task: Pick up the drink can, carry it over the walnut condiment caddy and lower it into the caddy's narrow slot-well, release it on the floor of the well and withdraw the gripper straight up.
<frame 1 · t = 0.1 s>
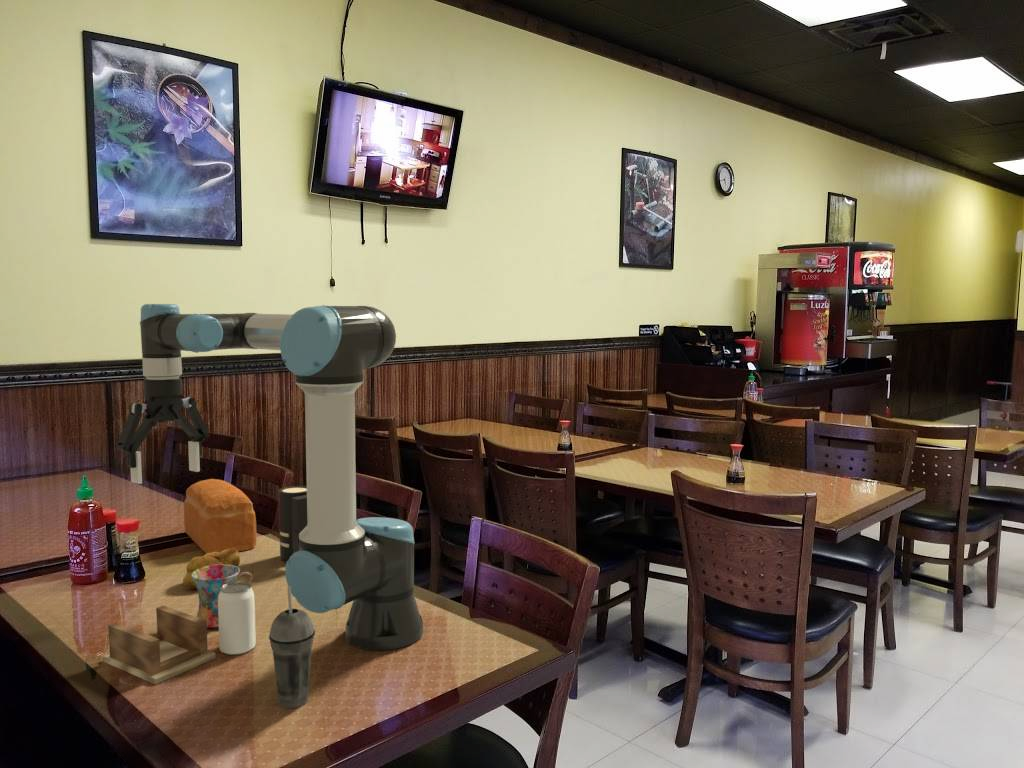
hand: (166, 476, 168), 28 cm above the table, fingers open, 13 cm apart
beverage cup: (293, 702, 130), on the table
caddy: (159, 659, 144), on the table
mug: (224, 621, 162), on the table
light fixture: (302, 561, 200), on the table
can: (237, 649, 149), on the table
ginger root: (208, 583, 183), on the table
bread: (219, 541, 215), on the table
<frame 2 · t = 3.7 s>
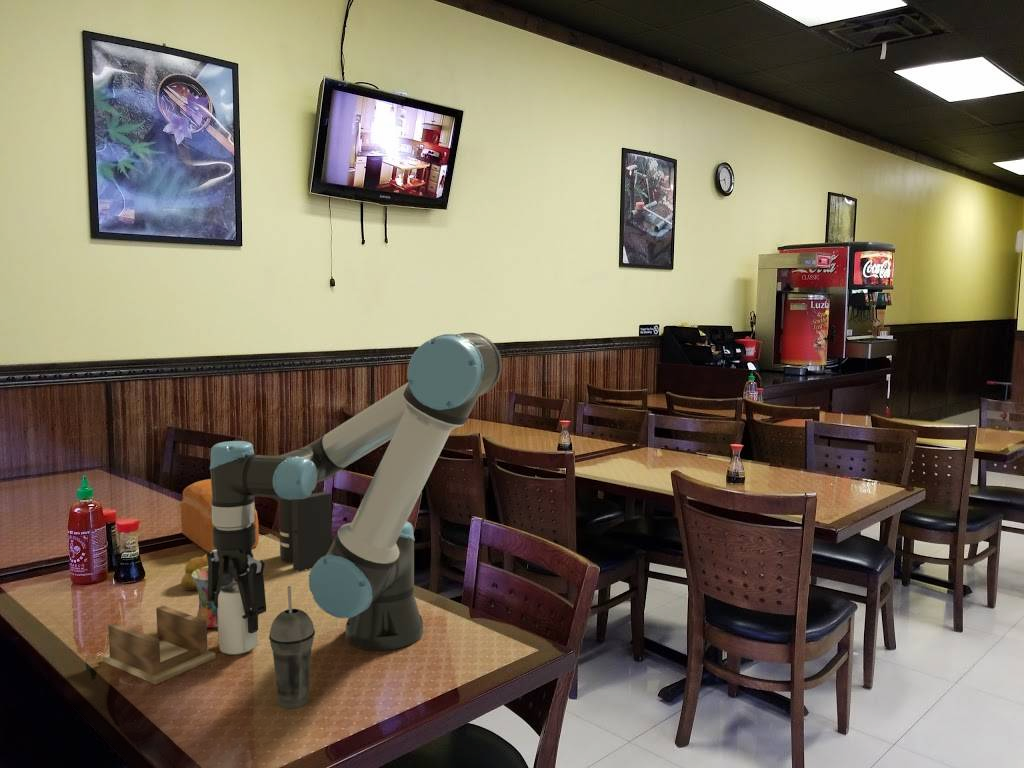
hand: (237, 643, 149), 1 cm above the table, fingers closed on can, 6 cm apart
can: (237, 649, 149), on the table, touching gripper
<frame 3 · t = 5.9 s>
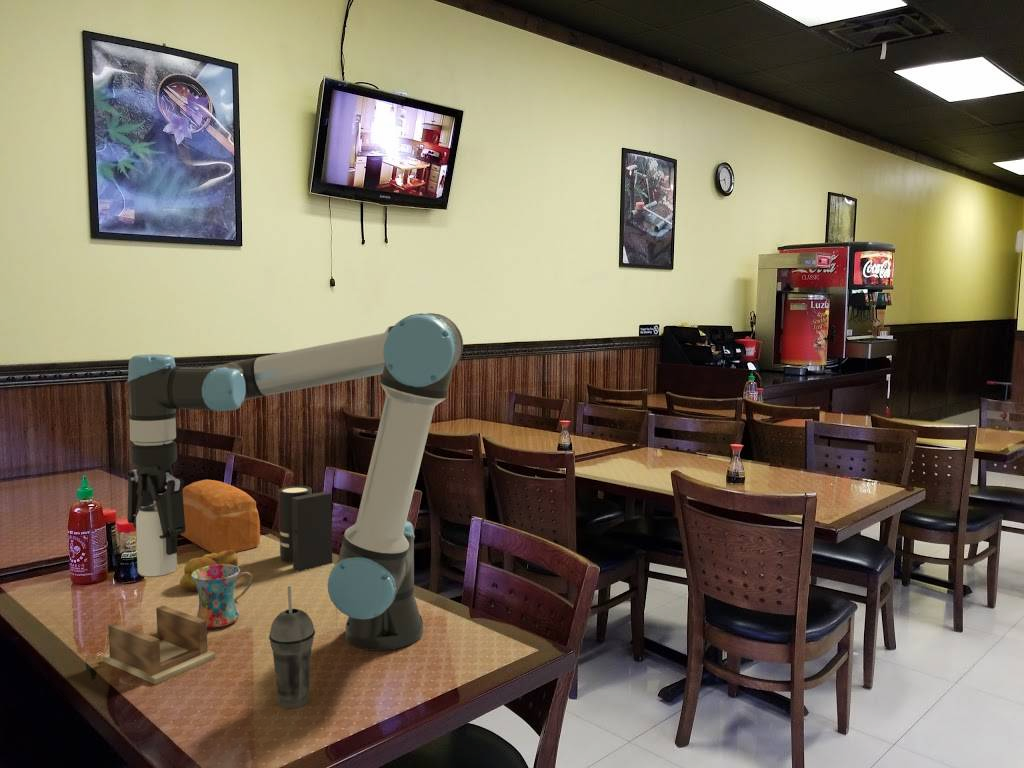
hand: (157, 566, 143), 17 cm above the table, fingers closed on can, 6 cm apart
can: (157, 572, 143), point 16 cm above the table, touching gripper
when the fingers open (4 cm above the table, at t = 8.4 s): can drops 2 cm, resting on caddy.
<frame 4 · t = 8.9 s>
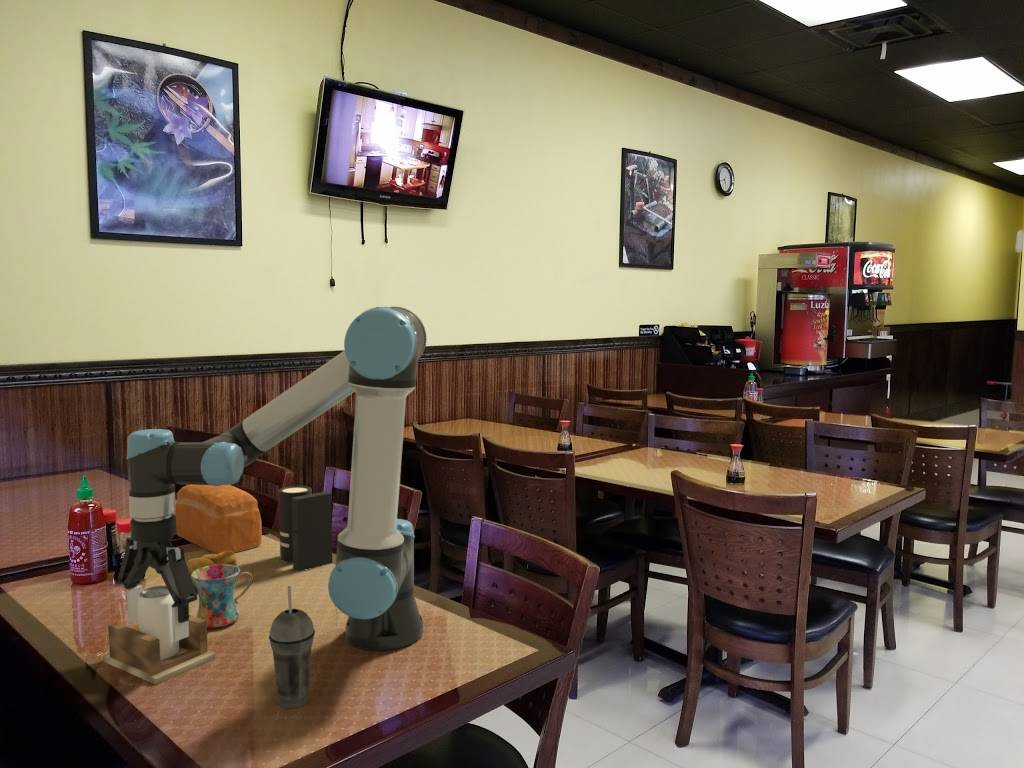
hand: (158, 629, 144), 6 cm above the table, fingers open, 13 cm apart
can: (160, 655, 144), point 1 cm above the table, touching caddy
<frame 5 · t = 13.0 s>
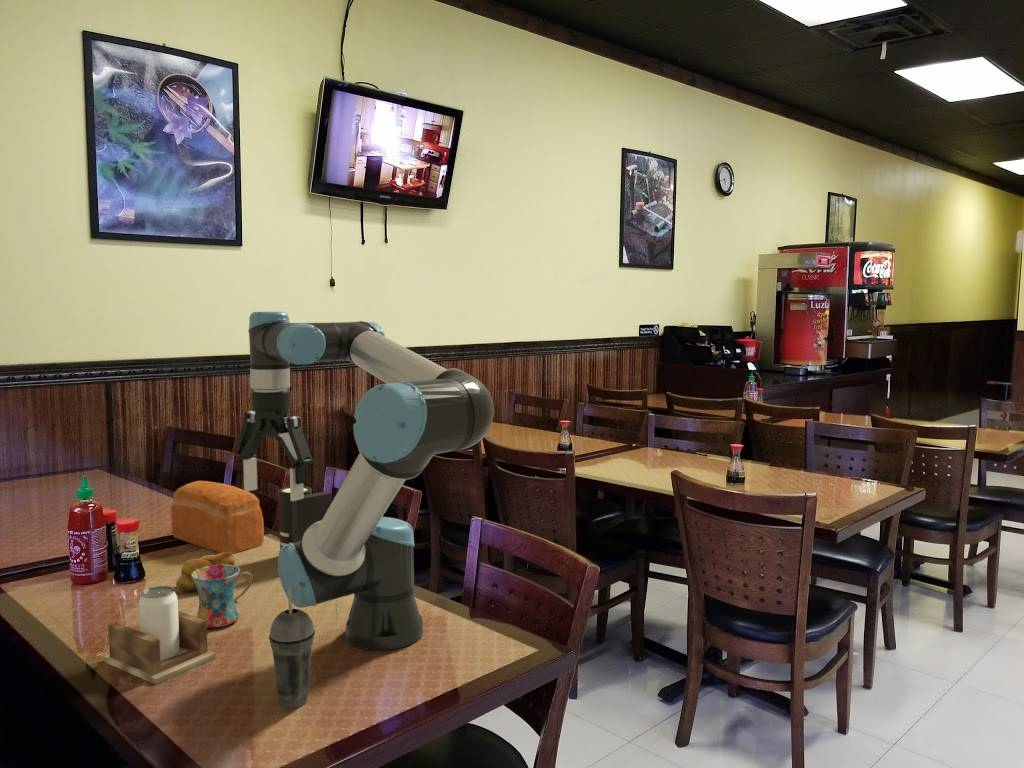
hand: (273, 495, 158), 27 cm above the table, fingers open, 13 cm apart
at the end: can inside the target area on the caddy (0.3 cm from its centre), point 0.8 cm above the caddy's base; can tilted 0°; the gripper is holding nothing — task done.
